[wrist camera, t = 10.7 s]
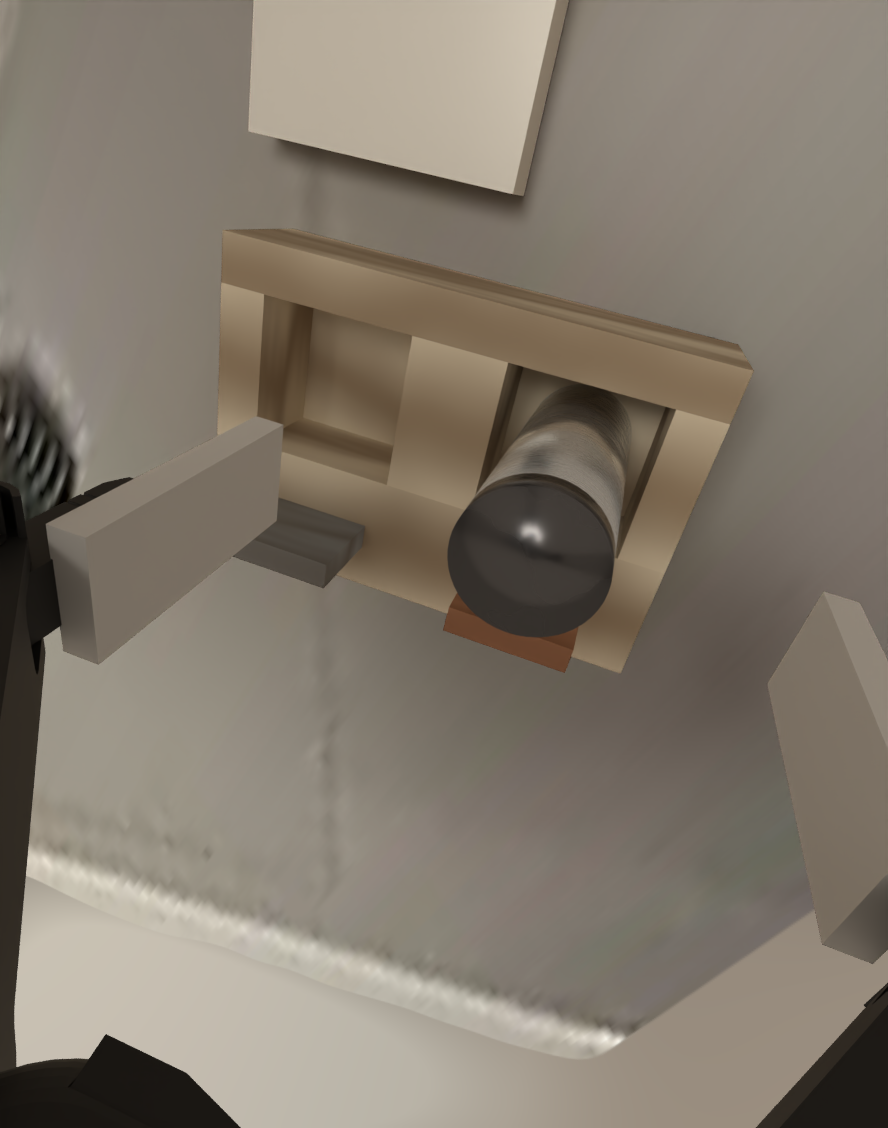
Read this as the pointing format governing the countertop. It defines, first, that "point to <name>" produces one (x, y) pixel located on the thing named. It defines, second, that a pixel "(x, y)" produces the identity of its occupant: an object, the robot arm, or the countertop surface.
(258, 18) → the plate
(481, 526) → the shaker with dark cap
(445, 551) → the socket block
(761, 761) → the countertop surface
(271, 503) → the robot arm
